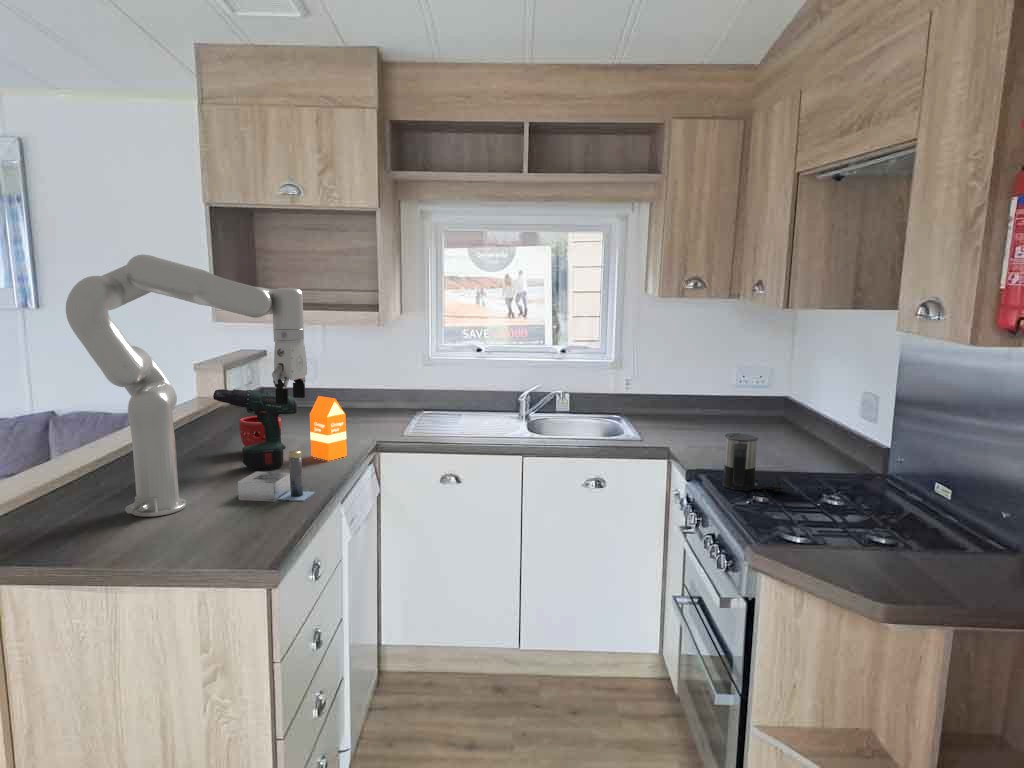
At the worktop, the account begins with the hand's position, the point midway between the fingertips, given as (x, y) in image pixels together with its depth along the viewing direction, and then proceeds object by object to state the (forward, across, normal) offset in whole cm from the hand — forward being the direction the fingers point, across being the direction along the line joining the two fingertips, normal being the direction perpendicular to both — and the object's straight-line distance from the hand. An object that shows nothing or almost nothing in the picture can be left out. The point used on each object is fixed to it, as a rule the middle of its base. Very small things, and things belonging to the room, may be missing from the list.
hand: (291, 400), depth 181 cm
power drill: (+27, +25, +23) cm, 43 cm away
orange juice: (+26, +41, +7) cm, 49 cm away
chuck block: (+26, 0, +8) cm, 28 cm away
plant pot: (+27, +42, +31) cm, 59 cm away
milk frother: (+26, +28, -124) cm, 130 cm away
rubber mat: (+26, 0, -1) cm, 26 cm away
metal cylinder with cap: (+26, 0, -1) cm, 26 cm away
